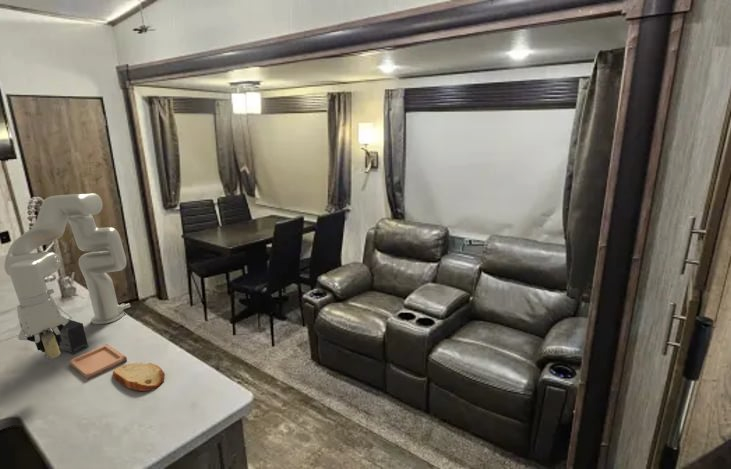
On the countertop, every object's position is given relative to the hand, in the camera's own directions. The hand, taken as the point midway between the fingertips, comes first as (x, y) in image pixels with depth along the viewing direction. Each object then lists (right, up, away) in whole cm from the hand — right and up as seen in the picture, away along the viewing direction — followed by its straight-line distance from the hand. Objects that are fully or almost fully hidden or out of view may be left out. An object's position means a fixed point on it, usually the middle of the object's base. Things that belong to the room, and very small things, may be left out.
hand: (50, 347), depth 131 cm
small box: (-11, -8, +26) cm, 29 cm away
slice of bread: (+26, -13, +5) cm, 30 cm away
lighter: (0, -2, 0) cm, 3 cm away
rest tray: (+6, -10, +15) cm, 19 cm away
